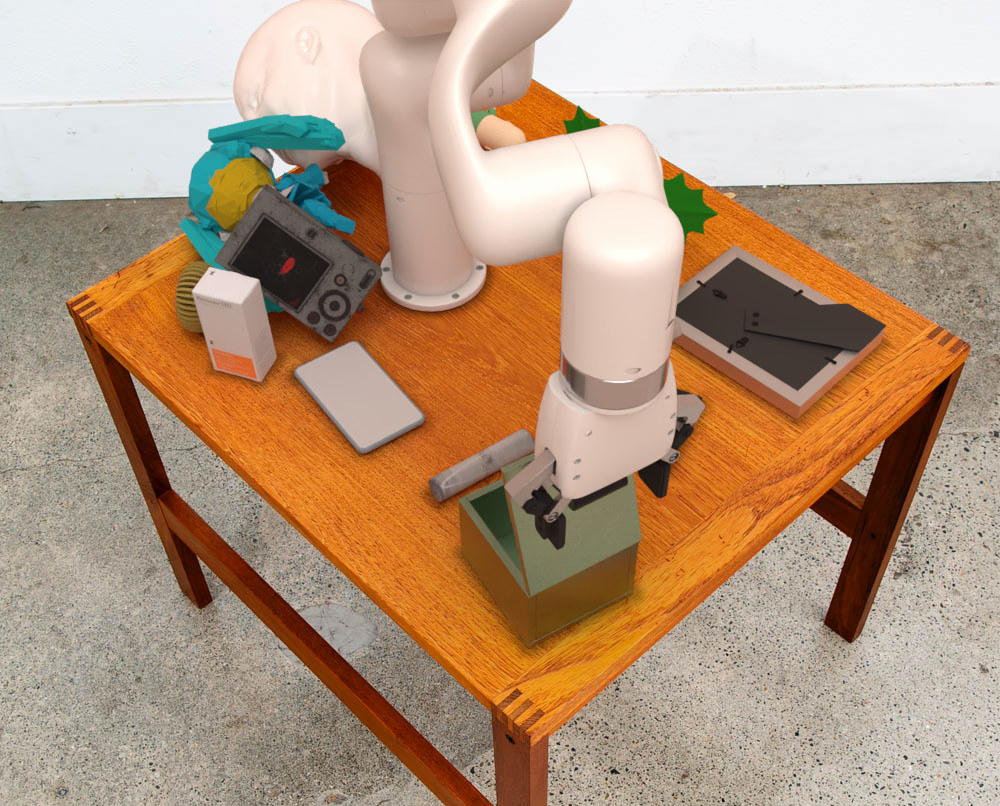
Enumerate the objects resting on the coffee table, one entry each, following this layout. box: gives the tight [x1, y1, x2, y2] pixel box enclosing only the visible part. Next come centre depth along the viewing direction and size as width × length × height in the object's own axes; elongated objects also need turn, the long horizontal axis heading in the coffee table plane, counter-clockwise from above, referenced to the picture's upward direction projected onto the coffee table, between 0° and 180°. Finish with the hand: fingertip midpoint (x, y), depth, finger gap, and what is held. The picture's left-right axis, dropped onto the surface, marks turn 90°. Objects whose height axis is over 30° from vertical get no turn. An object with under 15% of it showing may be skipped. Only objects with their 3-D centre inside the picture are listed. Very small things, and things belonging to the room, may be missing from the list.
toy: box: [178, 114, 357, 315], centre depth 140 cm, size 22×12×25 cm
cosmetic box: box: [192, 267, 278, 383], centre depth 129 cm, size 6×4×12 cm
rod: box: [428, 428, 535, 503], centre depth 122 cm, size 12×3×3 cm, turn 124°
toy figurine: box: [471, 107, 527, 151], centre depth 155 cm, size 8×4×12 cm
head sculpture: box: [232, 0, 385, 182], centre depth 149 cm, size 20×23×30 cm
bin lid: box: [499, 451, 643, 596], centre depth 99 cm, size 13×12×6 cm
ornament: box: [562, 104, 719, 246], centre depth 140 cm, size 21×8×15 cm, turn 58°
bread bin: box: [457, 478, 640, 649], centre depth 112 cm, size 13×12×9 cm
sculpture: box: [174, 260, 214, 334], centre depth 135 cm, size 8×4×8 cm
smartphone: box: [293, 340, 426, 454], centre depth 130 cm, size 8×1×15 cm
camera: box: [215, 184, 382, 344], centre depth 131 cm, size 16×4×10 cm
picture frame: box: [672, 244, 887, 421], centre depth 134 cm, size 16×3×21 cm
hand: (602, 510), depth 96 cm, fingers open, 9 cm apart
